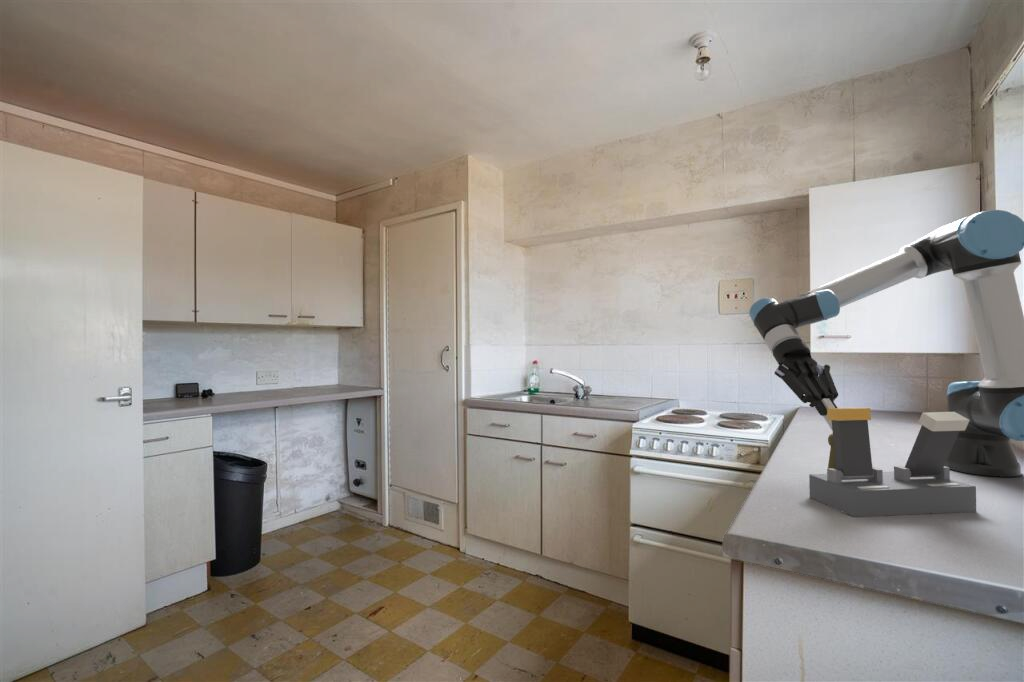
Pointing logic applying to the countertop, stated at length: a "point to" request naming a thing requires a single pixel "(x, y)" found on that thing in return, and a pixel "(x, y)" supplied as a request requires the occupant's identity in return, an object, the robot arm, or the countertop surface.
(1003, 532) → the countertop surface
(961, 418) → the cream lever
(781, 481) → the countertop surface
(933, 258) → the robot arm
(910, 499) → the switch block
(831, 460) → the cork
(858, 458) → the amber lever
